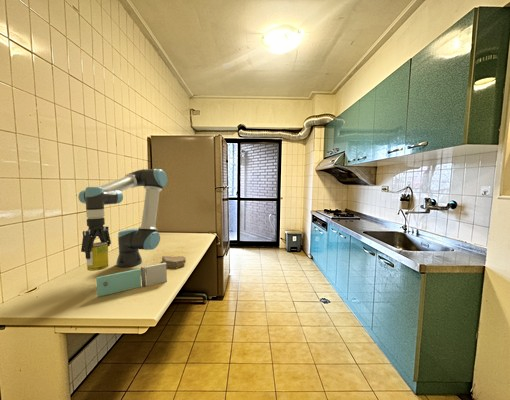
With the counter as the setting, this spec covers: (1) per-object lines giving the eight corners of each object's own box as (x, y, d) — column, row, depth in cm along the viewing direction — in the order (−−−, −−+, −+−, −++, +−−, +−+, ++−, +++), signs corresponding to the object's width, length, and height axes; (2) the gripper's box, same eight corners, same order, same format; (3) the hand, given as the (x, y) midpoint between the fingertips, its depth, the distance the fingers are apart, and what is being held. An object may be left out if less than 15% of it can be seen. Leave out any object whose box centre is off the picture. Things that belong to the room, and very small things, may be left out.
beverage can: (111, 264, 128) (110, 241, 127) (104, 269, 119) (103, 245, 119) (92, 265, 126) (90, 242, 125) (83, 271, 117) (82, 247, 117)
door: (97, 295, 116) (96, 277, 115) (140, 285, 127) (139, 268, 126) (97, 298, 113) (96, 279, 112) (141, 287, 124) (141, 270, 123)
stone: (185, 268, 154) (185, 261, 154) (160, 270, 150) (160, 263, 150) (185, 260, 171) (185, 253, 170) (162, 261, 166) (162, 255, 166)
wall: (123, 289, 124) (122, 269, 123) (165, 279, 136) (164, 261, 135) (124, 291, 121) (124, 271, 120) (166, 281, 133) (166, 263, 132)
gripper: (105, 214, 132) (107, 255, 134) (69, 220, 111) (72, 268, 113) (117, 214, 131) (119, 255, 133) (83, 221, 110) (86, 269, 111)
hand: (97, 261), depth 123 cm, fingers closed on beverage can, 9 cm apart
